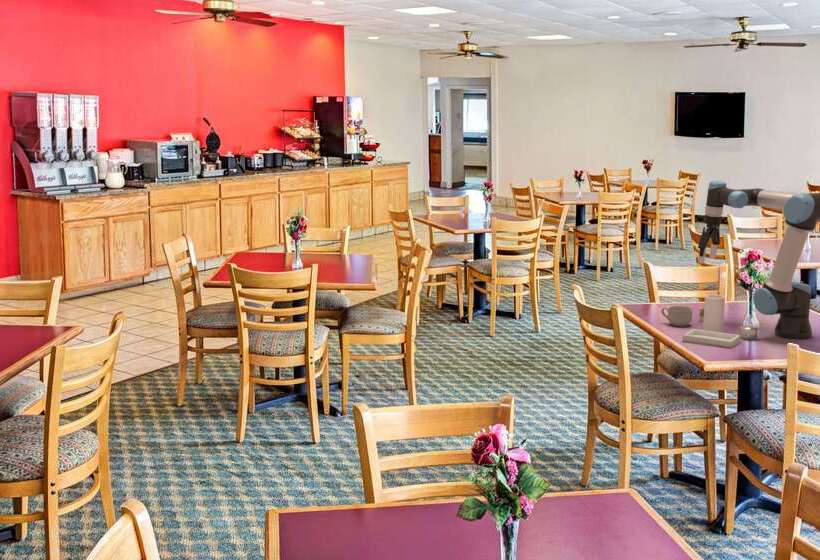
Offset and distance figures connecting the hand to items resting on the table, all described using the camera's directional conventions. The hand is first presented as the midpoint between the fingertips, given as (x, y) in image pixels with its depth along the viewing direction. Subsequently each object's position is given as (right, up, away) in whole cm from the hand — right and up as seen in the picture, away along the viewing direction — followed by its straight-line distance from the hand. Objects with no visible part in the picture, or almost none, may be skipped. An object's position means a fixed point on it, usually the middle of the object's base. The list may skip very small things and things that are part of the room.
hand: (706, 260), depth 427 cm
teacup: (-15, -29, -5) cm, 33 cm away
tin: (+8, -34, -30) cm, 46 cm away
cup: (-3, -32, -19) cm, 37 cm away
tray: (-10, -35, -36) cm, 51 cm away
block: (0, -28, +4) cm, 28 cm away
